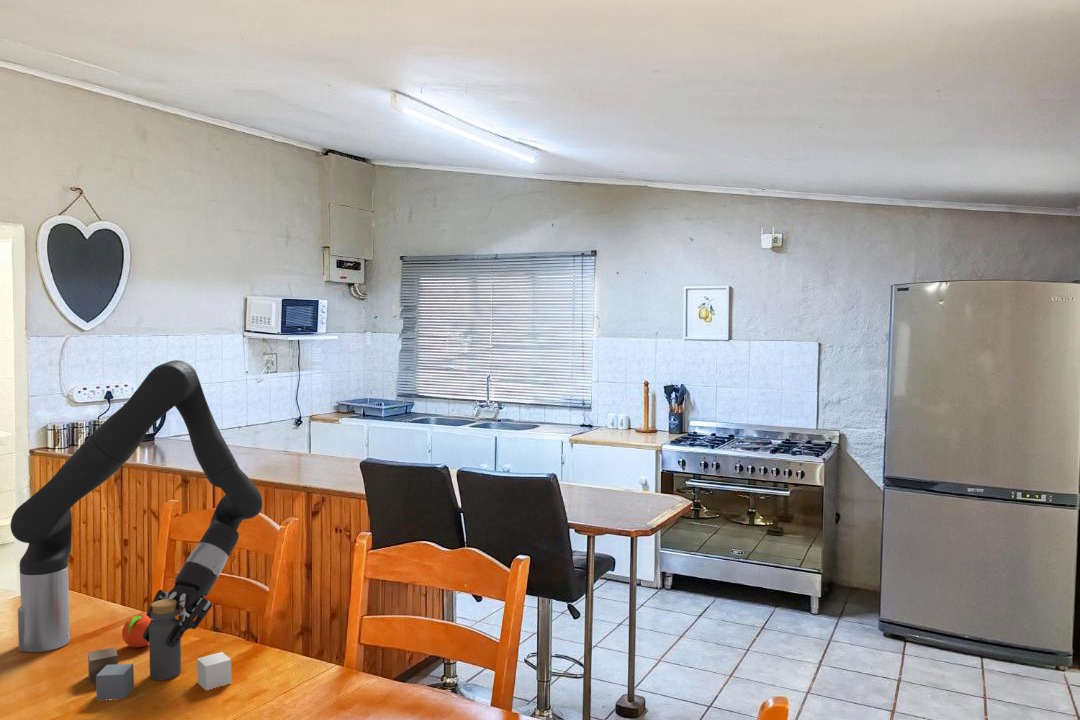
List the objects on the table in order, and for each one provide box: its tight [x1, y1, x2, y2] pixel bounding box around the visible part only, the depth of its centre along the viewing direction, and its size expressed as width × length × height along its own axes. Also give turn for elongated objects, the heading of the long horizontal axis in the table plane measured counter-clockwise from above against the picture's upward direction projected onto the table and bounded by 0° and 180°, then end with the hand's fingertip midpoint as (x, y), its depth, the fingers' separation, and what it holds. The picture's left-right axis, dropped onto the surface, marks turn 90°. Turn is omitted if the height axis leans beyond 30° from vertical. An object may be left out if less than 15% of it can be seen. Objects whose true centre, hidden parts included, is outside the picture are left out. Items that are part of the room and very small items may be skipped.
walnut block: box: [87, 646, 119, 686], centre depth 168 cm, size 5×5×5 cm
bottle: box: [148, 599, 182, 681], centre depth 169 cm, size 6×6×15 cm
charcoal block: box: [95, 663, 135, 701], centre depth 160 cm, size 5×5×5 cm
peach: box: [121, 614, 151, 648], centre depth 183 cm, size 8×7×7 cm
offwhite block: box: [196, 651, 232, 692], centre depth 165 cm, size 5×5×5 cm
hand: (158, 642), depth 167 cm, fingers closed on bottle, 5 cm apart
